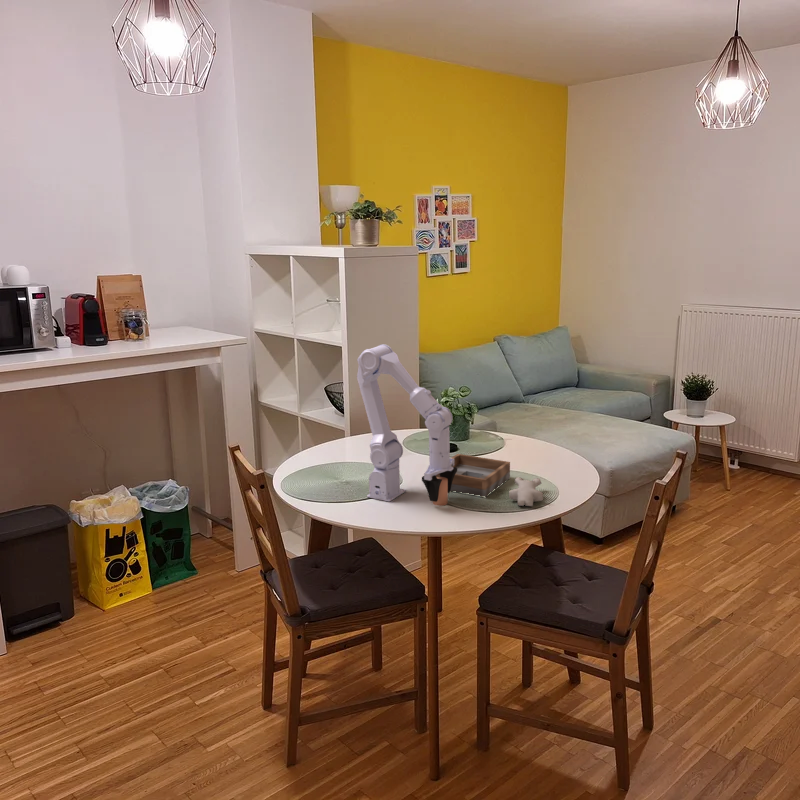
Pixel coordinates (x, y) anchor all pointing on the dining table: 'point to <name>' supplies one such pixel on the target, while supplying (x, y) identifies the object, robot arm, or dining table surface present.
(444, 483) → the peg
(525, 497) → the white soft plush figure
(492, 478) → the tray
